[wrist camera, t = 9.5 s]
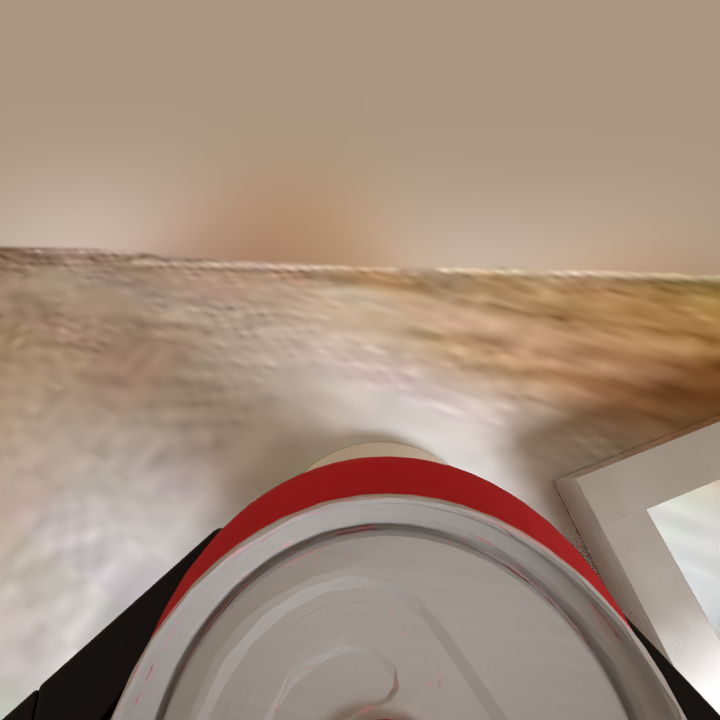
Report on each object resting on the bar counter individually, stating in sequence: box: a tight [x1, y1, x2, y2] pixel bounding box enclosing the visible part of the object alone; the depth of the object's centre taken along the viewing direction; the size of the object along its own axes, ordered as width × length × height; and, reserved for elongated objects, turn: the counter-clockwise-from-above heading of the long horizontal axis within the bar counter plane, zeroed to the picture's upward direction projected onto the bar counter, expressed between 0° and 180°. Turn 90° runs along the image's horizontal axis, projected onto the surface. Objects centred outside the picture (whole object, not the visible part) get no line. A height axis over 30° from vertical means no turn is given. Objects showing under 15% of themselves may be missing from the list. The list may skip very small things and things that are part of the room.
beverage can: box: [111, 456, 687, 720], centre depth 9 cm, size 6×6×12 cm
